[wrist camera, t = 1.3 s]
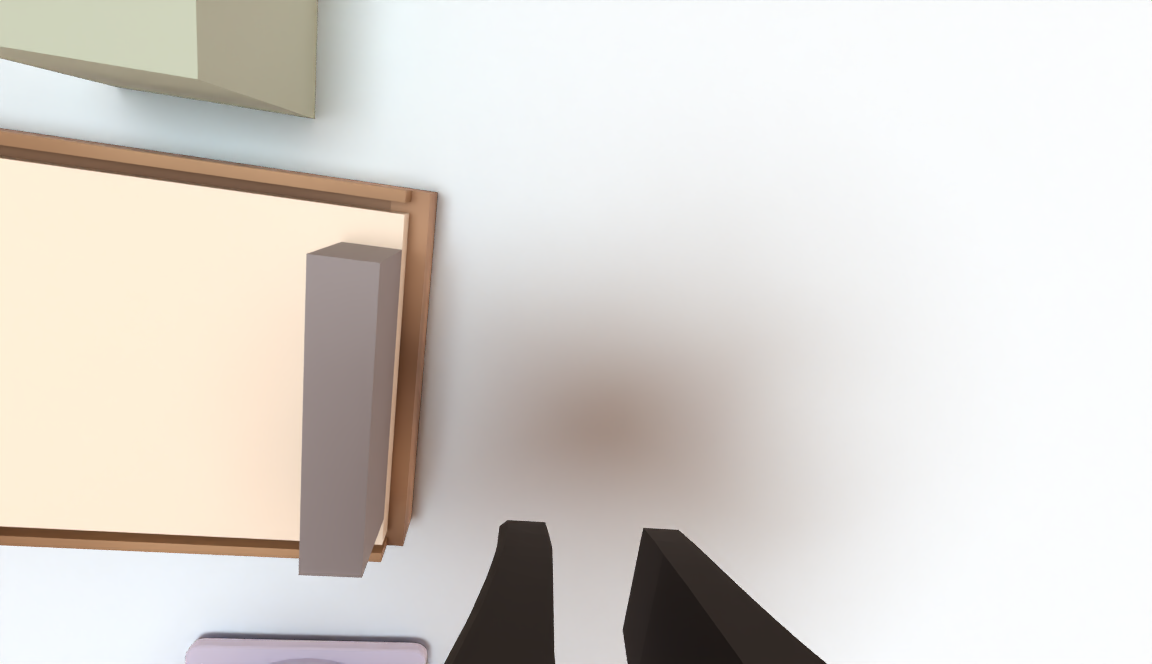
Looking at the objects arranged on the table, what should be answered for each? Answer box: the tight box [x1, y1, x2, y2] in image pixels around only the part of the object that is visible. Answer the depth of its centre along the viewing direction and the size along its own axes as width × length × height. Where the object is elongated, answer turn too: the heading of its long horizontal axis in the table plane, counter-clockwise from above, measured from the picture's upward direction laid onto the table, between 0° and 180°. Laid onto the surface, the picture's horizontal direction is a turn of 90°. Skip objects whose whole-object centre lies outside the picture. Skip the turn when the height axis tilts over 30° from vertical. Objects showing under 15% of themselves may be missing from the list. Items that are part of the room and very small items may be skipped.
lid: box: [0, 156, 409, 577], centre depth 13 cm, size 10×13×3 cm
